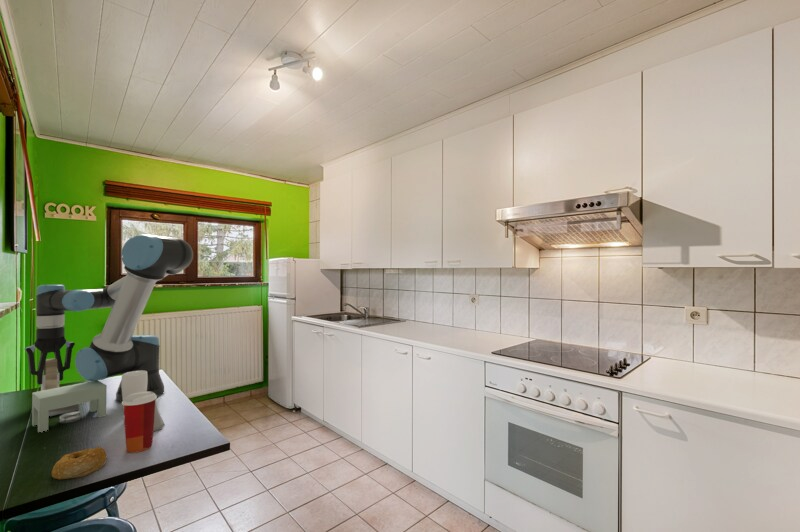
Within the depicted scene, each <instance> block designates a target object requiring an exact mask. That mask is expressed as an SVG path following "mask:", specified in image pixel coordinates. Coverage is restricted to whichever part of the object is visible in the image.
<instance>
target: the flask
mask: <svg viewBox="0 0 800 532" xmlns="http://www.w3.org/2000/svg"><path fill="white" fill-rule="evenodd" d="M155 396H156V397H158V396H157V395H156V394H155ZM156 401H157V398H156V399H155V414H154V428H153V433H154V432H157V431H159V430H162V429H163V427H164V426H165V422H164V419H163V417H162V416H161V413H160V411H159V409H158V406H157V405H158V404H157V402H156Z"/></svg>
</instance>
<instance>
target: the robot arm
mask: <svg viewBox="0 0 800 532" xmlns="http://www.w3.org/2000/svg"><path fill="white" fill-rule="evenodd" d="M121 256H122V257H121V262H122V263H123V265H124V267H123V268H124V270H125V273H126V275H125V276H123V277H121V278H119V279H118V280H116V281H114V282H113V283H112V284H111V283H110V285H108V286H106V287H103V288H91V289H90V288H89V289H87V288H86V289H66V286H65V285H64V284H40V285H38V286H37V288H36V296H35V299H36V301H35V303H36V307H35V309H36V323H35V324H36V327H37V328H36V330H35V332H36V333H35V334H36V335H35V337H36V338H35V342H34V343H33V344H32V345H30V346H26V347H25V348H24V351H25V352H26V354H27V358H28V359H27V360H28V361H27V362H28V370H29V374H30V375H32V376H36V384H37V385H40V391H43V390H45V385H46V375H45V374H44V366H45V361H46V359H47V356H48V354H50V353H53V355H54V358H56V359H57V388H58V387H60V381H63V380H64V372H65V371H66V370H70V368H71V361H72V355H73V354H72V352H73V348H74V347H75V345H76V342H74V341H67V339H66V337H65V333H66V332H65V331H66V330H65V322H66V321H65V320H66V316H65V314H66V312H67V311H68V312H75V313H76V312H83V311H87V310H96V309H97V310H98V309H106V308H108V309H109V308H111V310H110V313H109V314H108V317H107V319H106V321H105V324H104V326H103V329H102V331H101V333H99V334H96V335H95V336H93V338H92V341H91V342H90V345H89V346H88V347H87V346H85V347H83V348H81V349H79V350H78V351H77V353H76V355H75V358H74V359H75V360H74V364H75V368H76V371H77V372H78V374H79V375H80V377H82V379H84V380H85V381H87V382H90V381H97V380H98V381H102V380H106V379H108V378H111V377H115V376H118V375H122V374H124V373H127V372H132V371H141V370H143V371H147V376H148V383H147V391H150V392H153V393H155V394H156V395H157V396H156V397H159V396H161V395H163V394H164V393H165V385H164V382H163V379H162V376H161V374H160V347H161V345H160V338H159V337H158V336H157V335H151V334H147V335H146V334H135V335H134V333H135V330H136V328H137V326H138V323H139V321H140V319H141V316H142V314H143V313H144V310H145V308H146V306H147V304H148V302H149V299H150V297H151V294H152V291H153V289H155V285H156V283H157V282H158V281H162V280H163V279H164V278H166V277H167V276H169V275H170V276H174V275H176V274H179V273H180V272H182V271H184V270H185V269H187V268H189V266H190V265H191V263H193V258H194V251H193V249H192V247H191V244H189V243H188V242H187V241H186V240H184V239H182V238H179V237H174V236H173V237H170V236H162V235H155V234H148V233H147V234H137V235H133V236H132V237H130V238H128V239H127V240H126V242H125V243H124V244H123V247H122V249H121ZM64 346H65V348H66V349H65V355H64V356H65V357H64V364H63V360H62V356H61V349H62V348H63V347H64ZM36 349H38V350H39V352H40V354H39V355H40V356H39V361H38V365H37V366H38V367H37V369H36V361H35V354H34V352H35V351H36ZM121 381H122V378H121V380H120V382H119V385H118V388H117V390H116V393H115V400H116V401H117V402H120V403H122V402H123V399H122V388H121ZM163 392H164V393H163ZM162 393H163V394H162ZM160 394H161V395H160ZM158 395H159V396H158Z"/></svg>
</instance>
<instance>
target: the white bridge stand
mask: <svg viewBox="0 0 800 532" xmlns="http://www.w3.org/2000/svg"><path fill="white" fill-rule="evenodd" d="M107 388H108V387H107V384H106V383H103V382H101V380H97V381H84V382H80V383H75V384H68V385H64V386H59V387H58V388H53V389H48V390H43V391H41V390H37V391H33V392H32V394H31V396H32V397H31V402H32V403H31V409H32V410H31V413H32V414H31V425H32V427H35V426H34V425H37V433H39V432H41V433H44V432H43V431H45V432H48V431H49V420H50V419H49V410H52V409H57V408H61V407H66V406H70V405H75V404H79V405H80V404H82V403H87V402H89V405H88V406H89V408H88V411H89V413H93V412H96V417H98V418H102V417H106V416H107ZM47 430H48V431H47Z"/></svg>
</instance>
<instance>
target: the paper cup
mask: <svg viewBox="0 0 800 532" xmlns="http://www.w3.org/2000/svg"><path fill="white" fill-rule="evenodd" d="M157 398H158V396H155V393H153V392H150V391H147V392H138V393H134V394H130V395H128V396H126V397H125V398H124V400H123V402H120V403H121V405H122V406H123V407H124V409H123V423H124V436H125V448H126V449H125V450H126V452H127V453H130V454H135V453H139V452H143V451H146V450H148V449H150V448H151V447H152V445H153V438H154V432H153V428H154V414H155V399H156V400H157Z"/></svg>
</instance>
